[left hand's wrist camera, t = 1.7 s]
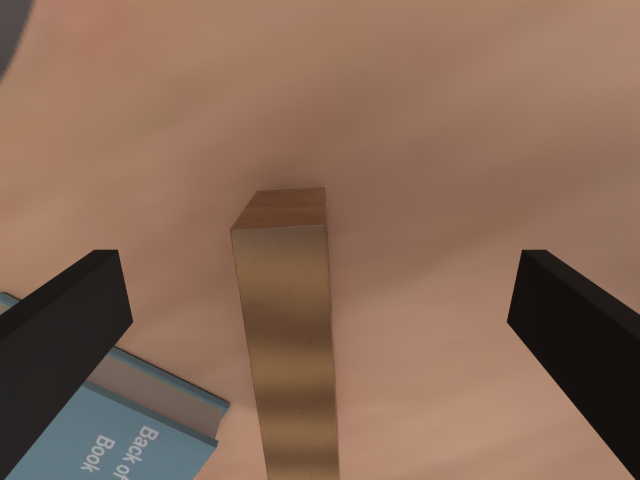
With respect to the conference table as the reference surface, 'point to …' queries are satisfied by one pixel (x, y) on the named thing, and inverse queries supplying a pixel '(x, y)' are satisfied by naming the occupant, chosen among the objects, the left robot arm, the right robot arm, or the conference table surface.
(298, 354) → the bar
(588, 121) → the conference table surface
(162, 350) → the conference table surface
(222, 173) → the conference table surface
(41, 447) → the book
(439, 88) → the conference table surface
